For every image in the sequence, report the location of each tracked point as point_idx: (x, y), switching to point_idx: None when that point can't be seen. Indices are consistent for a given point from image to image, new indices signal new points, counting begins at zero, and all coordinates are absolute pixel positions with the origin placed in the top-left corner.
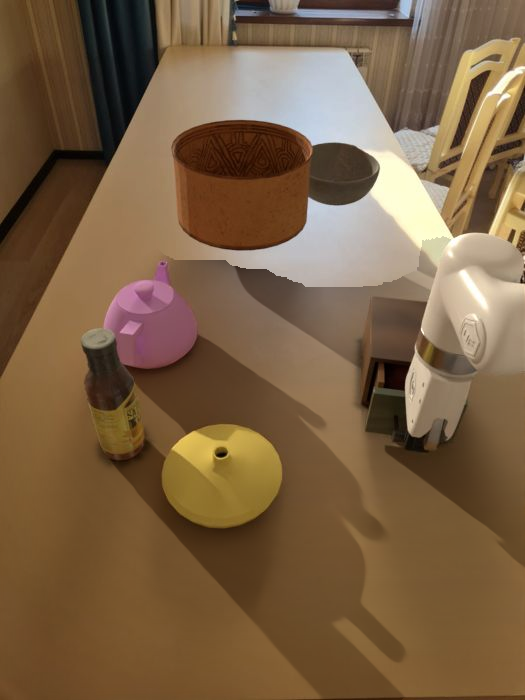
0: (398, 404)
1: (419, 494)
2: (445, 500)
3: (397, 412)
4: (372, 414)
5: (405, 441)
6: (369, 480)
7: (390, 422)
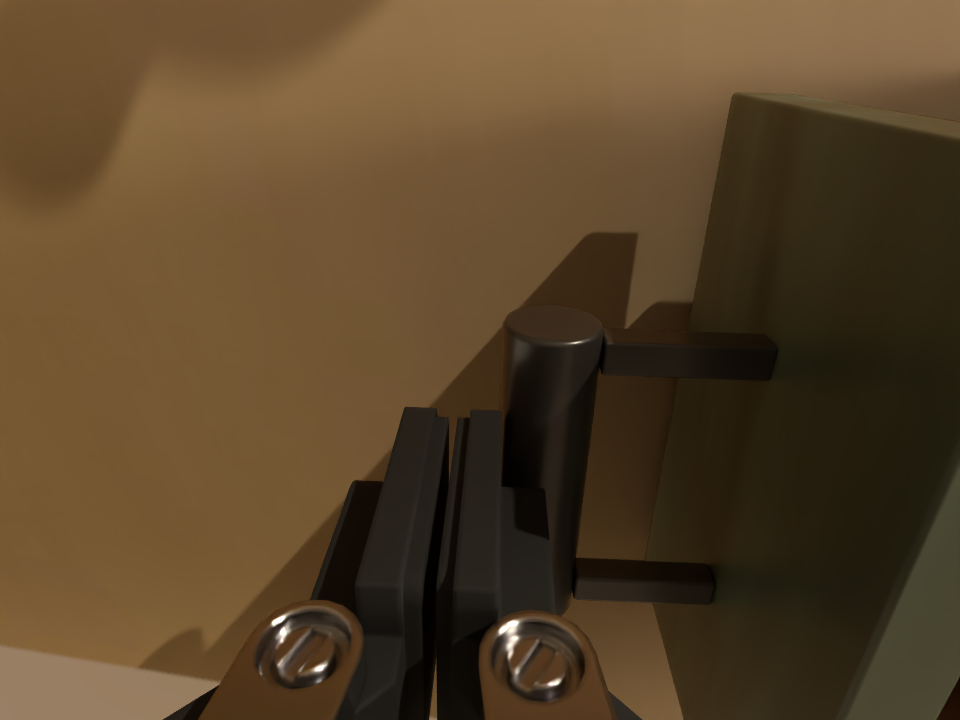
0: (847, 440)
1: (331, 389)
2: (328, 491)
3: (790, 388)
4: (817, 148)
5: (462, 425)
6: (356, 123)
7: (745, 298)
